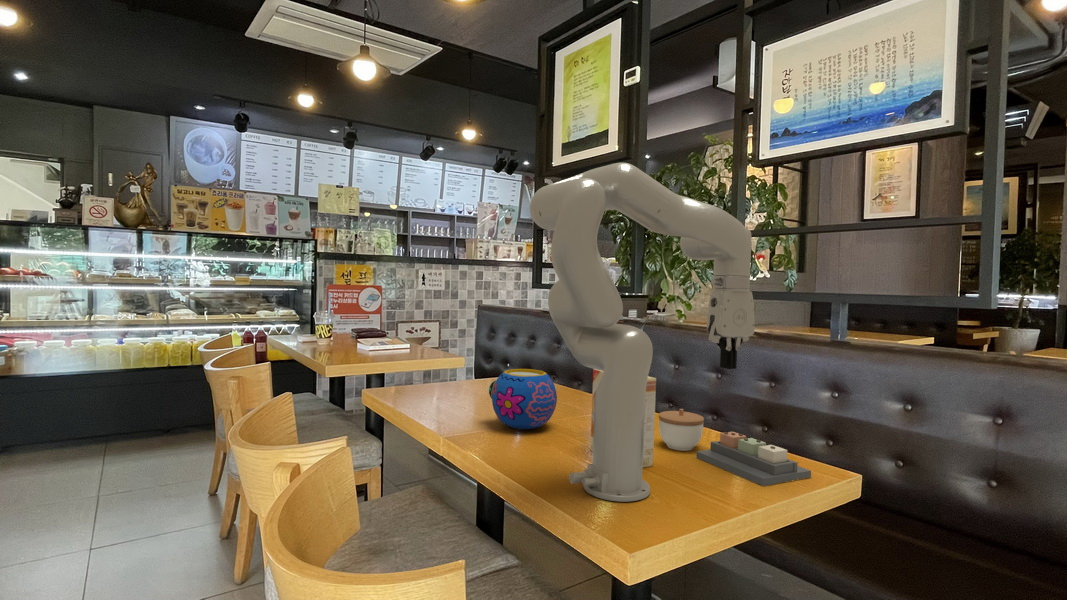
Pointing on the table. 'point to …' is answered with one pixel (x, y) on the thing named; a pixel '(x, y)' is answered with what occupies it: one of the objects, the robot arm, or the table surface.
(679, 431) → the lidded jar
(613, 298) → the robot arm
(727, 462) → the board
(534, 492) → the table surface
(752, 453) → the tile two
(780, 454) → the tile one
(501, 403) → the ceramic pot
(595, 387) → the coffeecake box
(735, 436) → the tile three
